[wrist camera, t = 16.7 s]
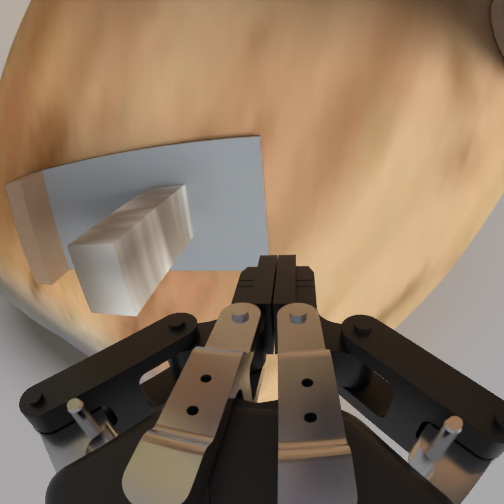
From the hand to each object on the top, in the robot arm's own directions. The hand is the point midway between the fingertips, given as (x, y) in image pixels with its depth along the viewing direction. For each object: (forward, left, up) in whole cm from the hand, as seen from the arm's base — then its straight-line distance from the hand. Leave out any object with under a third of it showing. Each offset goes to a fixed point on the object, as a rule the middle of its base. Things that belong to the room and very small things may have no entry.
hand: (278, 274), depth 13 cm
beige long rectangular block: (+9, 0, -9) cm, 13 cm away
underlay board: (+13, 0, -10) cm, 16 cm away
